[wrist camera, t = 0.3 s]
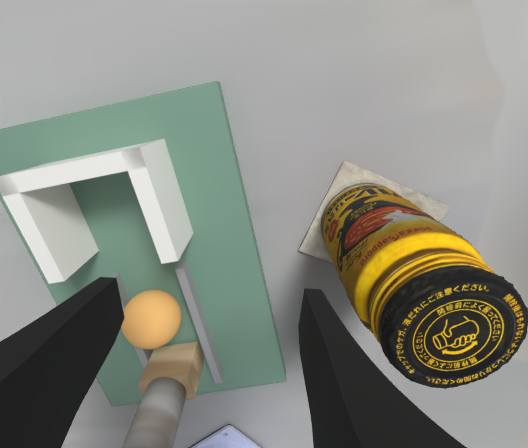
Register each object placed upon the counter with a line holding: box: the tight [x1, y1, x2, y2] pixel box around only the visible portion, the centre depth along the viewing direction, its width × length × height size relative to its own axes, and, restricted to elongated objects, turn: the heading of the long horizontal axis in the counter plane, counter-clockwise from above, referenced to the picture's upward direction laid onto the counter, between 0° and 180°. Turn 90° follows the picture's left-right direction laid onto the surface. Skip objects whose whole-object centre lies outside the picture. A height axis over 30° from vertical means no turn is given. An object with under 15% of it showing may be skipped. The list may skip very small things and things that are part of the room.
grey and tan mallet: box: [122, 341, 204, 448], centre depth 21 cm, size 3×4×8 cm
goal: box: [0, 139, 193, 284], centre depth 18 cm, size 6×8×4 cm
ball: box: [121, 290, 182, 349], centre depth 21 cm, size 4×4×4 cm
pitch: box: [0, 81, 286, 406], centre depth 23 cm, size 24×16×2 cm, turn 11°
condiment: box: [299, 161, 528, 389], centre depth 17 cm, size 7×8×12 cm
